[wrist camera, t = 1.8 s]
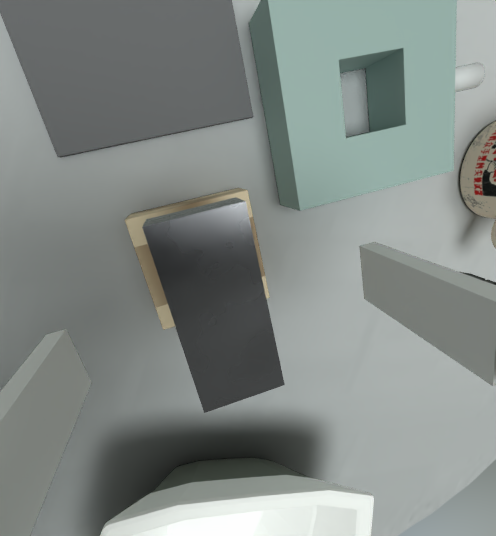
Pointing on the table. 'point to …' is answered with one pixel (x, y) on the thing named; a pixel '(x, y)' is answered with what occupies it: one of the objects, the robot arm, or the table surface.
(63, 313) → the table surface
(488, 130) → the teacup with lid
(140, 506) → the bowl
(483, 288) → the robot arm
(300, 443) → the table surface
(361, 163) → the block
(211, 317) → the block
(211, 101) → the mat
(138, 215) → the beige square frame
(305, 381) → the table surface
